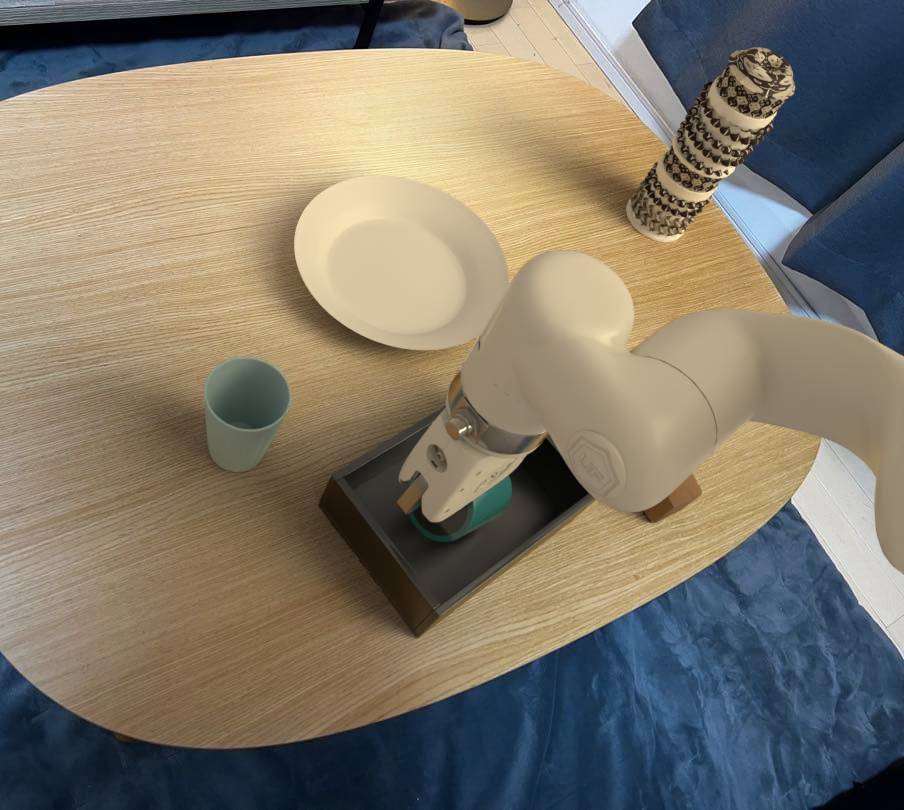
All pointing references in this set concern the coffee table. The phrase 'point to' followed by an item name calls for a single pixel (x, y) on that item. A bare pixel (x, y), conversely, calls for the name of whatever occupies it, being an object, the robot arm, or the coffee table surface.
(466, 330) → the white plate
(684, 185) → the decorative candle
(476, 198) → the coffee table surface
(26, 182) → the coffee table surface
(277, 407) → the cup
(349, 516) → the dark grey shallow box
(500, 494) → the pot
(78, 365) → the coffee table surface
